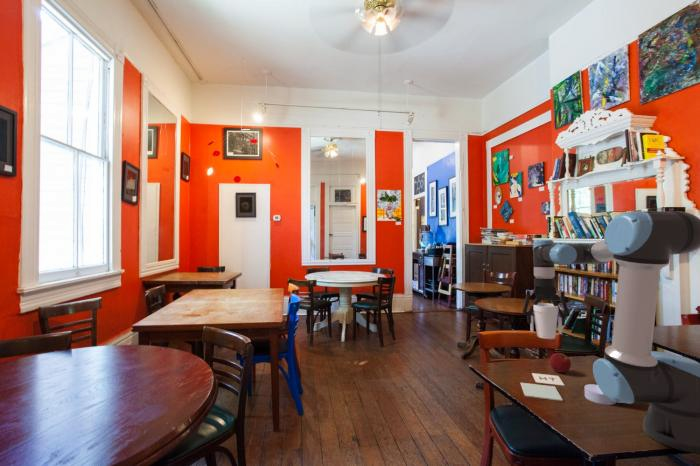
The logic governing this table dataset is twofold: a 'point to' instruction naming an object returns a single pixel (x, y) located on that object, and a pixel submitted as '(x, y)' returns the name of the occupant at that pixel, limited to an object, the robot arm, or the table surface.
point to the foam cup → (545, 320)
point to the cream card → (547, 379)
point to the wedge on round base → (597, 395)
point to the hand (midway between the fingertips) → (546, 332)
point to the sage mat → (541, 391)
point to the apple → (560, 362)
